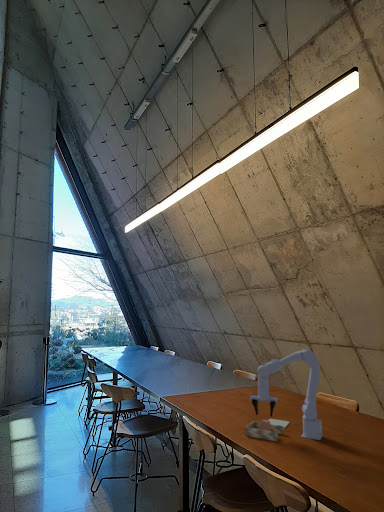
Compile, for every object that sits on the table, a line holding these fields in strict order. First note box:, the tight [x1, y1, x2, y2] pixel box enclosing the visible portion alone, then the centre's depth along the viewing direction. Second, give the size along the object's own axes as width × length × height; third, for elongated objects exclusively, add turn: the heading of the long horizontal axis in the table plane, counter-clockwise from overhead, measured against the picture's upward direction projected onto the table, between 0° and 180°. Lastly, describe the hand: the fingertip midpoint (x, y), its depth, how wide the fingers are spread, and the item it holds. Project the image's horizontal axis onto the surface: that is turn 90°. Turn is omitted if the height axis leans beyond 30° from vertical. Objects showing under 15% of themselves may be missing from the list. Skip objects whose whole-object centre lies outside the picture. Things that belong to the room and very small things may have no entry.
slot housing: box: [244, 421, 285, 442], centre depth 188 cm, size 17×13×4 cm
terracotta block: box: [260, 419, 270, 431], centre depth 188 cm, size 4×4×7 cm
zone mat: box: [268, 418, 291, 429], centre depth 207 cm, size 12×12×1 cm
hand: (264, 415), depth 191 cm, fingers open, 7 cm apart
